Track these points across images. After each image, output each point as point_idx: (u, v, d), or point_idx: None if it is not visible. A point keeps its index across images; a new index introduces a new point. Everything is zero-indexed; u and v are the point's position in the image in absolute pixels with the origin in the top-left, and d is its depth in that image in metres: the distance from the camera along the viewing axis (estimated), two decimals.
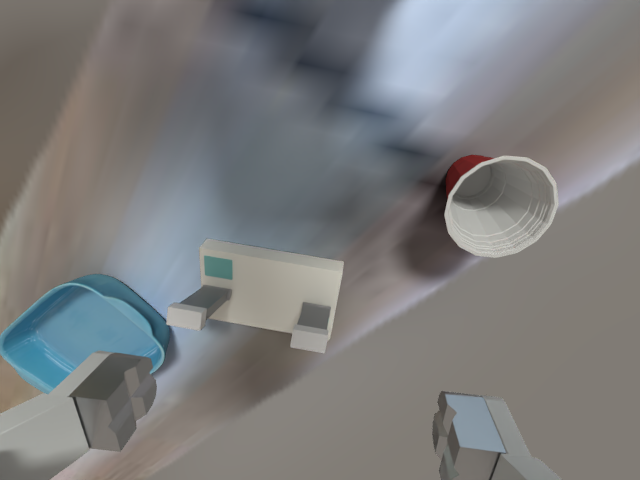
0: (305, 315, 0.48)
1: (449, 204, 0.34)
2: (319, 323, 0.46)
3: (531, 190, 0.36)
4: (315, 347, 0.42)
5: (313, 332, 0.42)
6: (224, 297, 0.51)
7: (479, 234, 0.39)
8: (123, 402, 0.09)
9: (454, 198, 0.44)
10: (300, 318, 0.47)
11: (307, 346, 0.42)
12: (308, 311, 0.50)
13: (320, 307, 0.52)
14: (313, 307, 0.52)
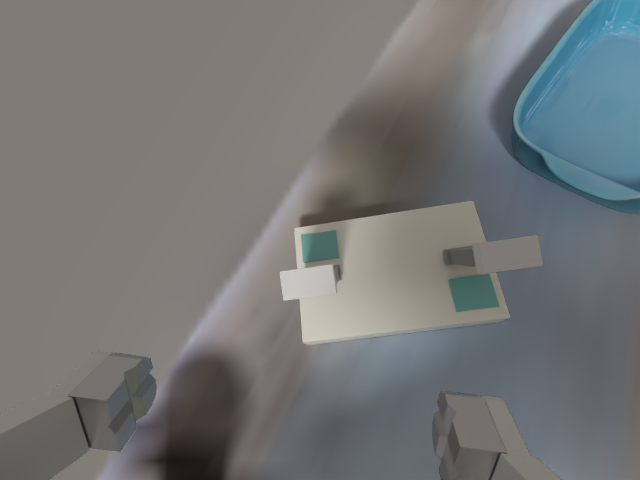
0: None
1: None
2: None
3: None
4: (295, 276, 0.28)
5: None
6: (452, 259, 0.35)
7: None
8: (123, 402, 0.09)
9: None
10: None
11: (307, 273, 0.28)
12: None
13: None
14: None
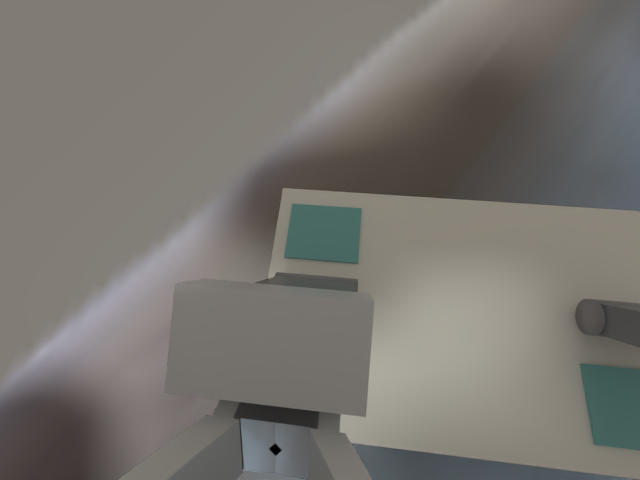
0: None
1: None
2: None
3: None
4: (228, 314, 0.07)
5: (248, 398, 0.07)
6: (627, 332, 0.15)
7: None
8: None
9: None
10: None
11: (274, 316, 0.07)
12: None
13: None
14: None
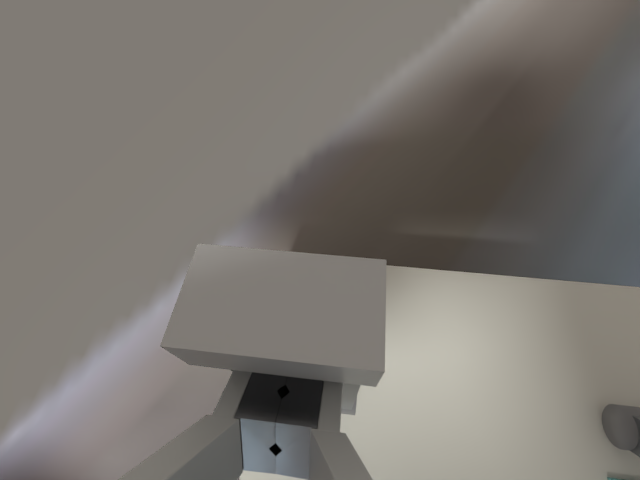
0: None
1: None
2: None
3: None
4: (245, 269, 0.08)
5: (252, 357, 0.07)
6: None
7: None
8: None
9: None
10: (352, 387, 0.11)
11: (289, 271, 0.07)
12: None
13: None
14: None
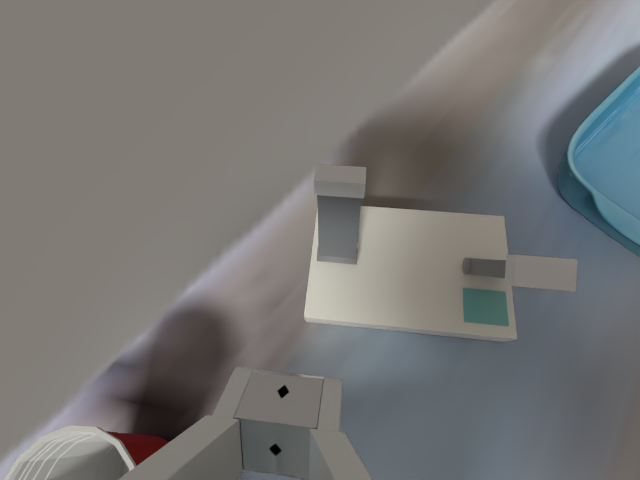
0: (350, 230, 0.34)
1: None
2: (329, 214, 0.32)
3: None
4: (331, 168, 0.30)
5: (335, 183, 0.29)
6: (474, 269, 0.34)
7: None
8: None
9: None
10: (357, 220, 0.32)
11: (342, 169, 0.30)
12: (347, 241, 0.35)
13: (331, 255, 0.37)
14: (341, 253, 0.36)
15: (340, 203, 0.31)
